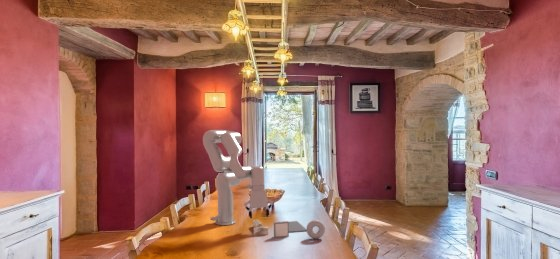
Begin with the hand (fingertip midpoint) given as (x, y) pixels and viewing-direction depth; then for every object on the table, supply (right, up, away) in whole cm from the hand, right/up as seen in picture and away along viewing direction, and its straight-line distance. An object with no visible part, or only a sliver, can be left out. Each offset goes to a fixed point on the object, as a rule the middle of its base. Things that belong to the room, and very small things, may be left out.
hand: (259, 217), depth 195 cm
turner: (0, -8, -1) cm, 8 cm away
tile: (+13, -7, -13) cm, 19 cm away
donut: (+31, -8, -16) cm, 36 cm away
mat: (+20, -7, +6) cm, 22 cm away
